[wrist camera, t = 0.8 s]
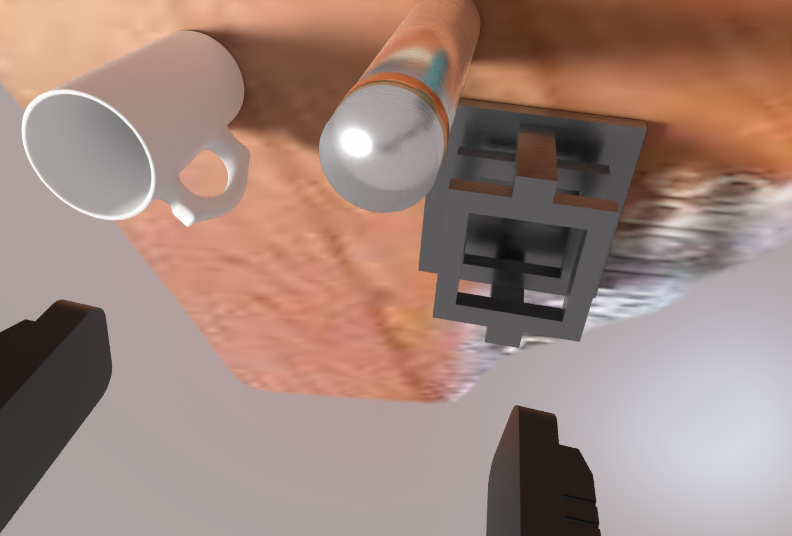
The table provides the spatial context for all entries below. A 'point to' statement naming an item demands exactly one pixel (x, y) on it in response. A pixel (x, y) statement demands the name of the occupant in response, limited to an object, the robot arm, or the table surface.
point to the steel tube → (402, 109)
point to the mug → (141, 130)
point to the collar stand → (526, 214)
